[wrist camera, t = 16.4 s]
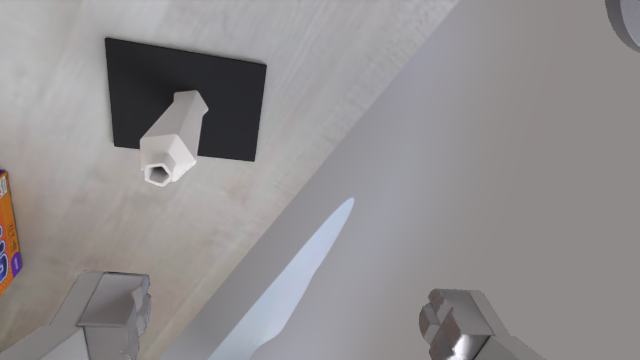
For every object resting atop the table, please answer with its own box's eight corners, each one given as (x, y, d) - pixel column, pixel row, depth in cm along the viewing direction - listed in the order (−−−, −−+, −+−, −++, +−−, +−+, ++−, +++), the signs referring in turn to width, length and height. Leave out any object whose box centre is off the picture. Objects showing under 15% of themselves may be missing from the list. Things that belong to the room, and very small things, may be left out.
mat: (266, 64, 40) (266, 65, 39) (254, 160, 46) (254, 161, 45) (106, 37, 36) (104, 38, 36) (115, 144, 42) (114, 146, 42)
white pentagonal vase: (158, 96, 39) (110, 163, 27) (194, 80, 39) (162, 140, 26) (182, 131, 42) (149, 207, 29) (216, 116, 41) (197, 187, 29)
